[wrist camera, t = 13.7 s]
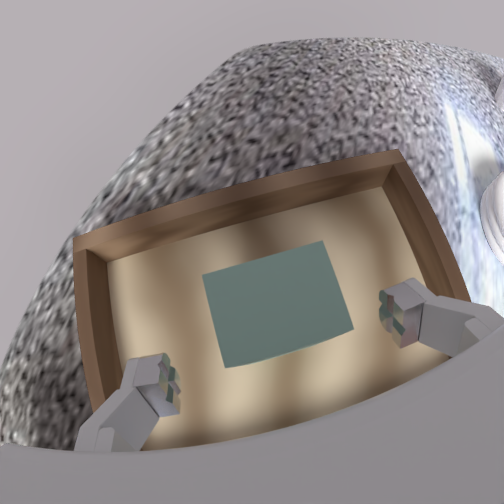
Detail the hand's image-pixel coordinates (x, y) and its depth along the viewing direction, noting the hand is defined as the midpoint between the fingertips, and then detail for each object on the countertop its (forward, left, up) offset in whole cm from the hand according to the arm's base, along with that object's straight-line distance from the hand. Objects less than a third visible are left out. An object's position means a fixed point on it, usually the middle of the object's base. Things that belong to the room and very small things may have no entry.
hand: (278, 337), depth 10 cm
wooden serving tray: (0, +1, -9) cm, 9 cm away
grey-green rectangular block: (0, +1, -8) cm, 8 cm away
